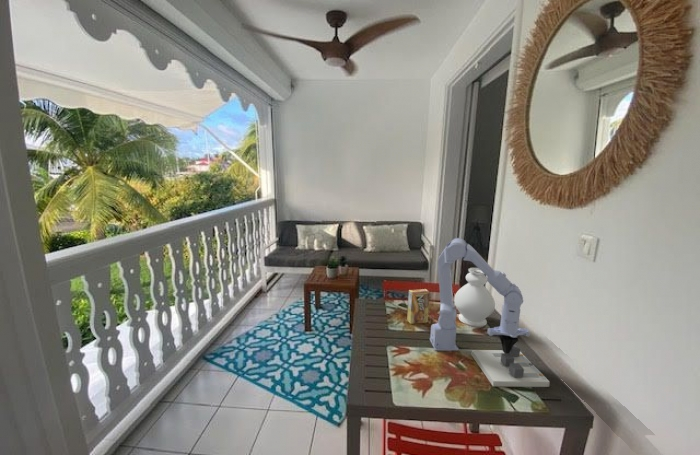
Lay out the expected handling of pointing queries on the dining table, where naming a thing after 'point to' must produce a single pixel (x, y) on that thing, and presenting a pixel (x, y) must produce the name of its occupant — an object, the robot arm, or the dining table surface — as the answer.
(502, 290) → the robot arm
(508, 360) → the dark gray cube
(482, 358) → the switch panel
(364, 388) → the dining table surface
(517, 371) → the gray cube
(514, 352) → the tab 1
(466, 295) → the decorative vase
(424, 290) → the candy box
